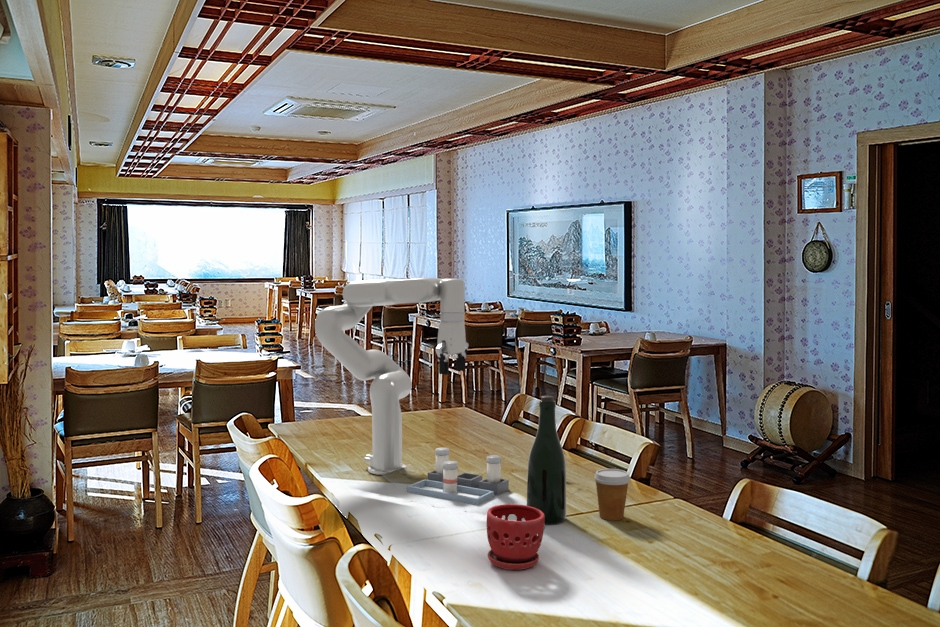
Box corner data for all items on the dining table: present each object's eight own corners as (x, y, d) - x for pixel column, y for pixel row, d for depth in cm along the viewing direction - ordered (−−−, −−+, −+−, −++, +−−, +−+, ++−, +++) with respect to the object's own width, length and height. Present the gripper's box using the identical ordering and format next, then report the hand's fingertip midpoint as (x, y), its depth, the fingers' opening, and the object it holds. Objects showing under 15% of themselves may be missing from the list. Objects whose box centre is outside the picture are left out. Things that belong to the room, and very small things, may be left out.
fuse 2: (483, 491, 237) (483, 457, 236) (491, 487, 240) (491, 454, 240) (496, 493, 235) (496, 459, 234) (503, 490, 238) (503, 456, 238)
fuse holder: (425, 488, 245) (425, 473, 245) (440, 481, 252) (440, 467, 252) (496, 501, 233) (496, 485, 232) (510, 494, 239) (510, 479, 239)
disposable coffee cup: (608, 524, 212) (608, 479, 211) (586, 514, 221) (587, 470, 220) (637, 519, 216) (637, 474, 216) (614, 509, 225) (615, 466, 224)
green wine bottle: (519, 515, 219) (520, 394, 217) (553, 511, 223) (555, 391, 221) (538, 527, 210) (539, 400, 207) (573, 522, 214) (574, 397, 212)
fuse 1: (432, 482, 246) (432, 449, 246) (440, 479, 250) (440, 446, 249) (444, 484, 244) (444, 451, 243) (451, 481, 248) (451, 448, 247)
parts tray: (406, 496, 237) (406, 486, 237) (424, 489, 244) (424, 479, 244) (477, 509, 224) (477, 499, 224) (494, 501, 232) (494, 491, 232)
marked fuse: (439, 497, 234) (440, 463, 233) (447, 493, 237) (448, 460, 236) (452, 499, 231) (452, 465, 231) (460, 496, 235) (460, 462, 234)
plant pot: (501, 577, 177) (502, 523, 176) (477, 557, 189) (477, 506, 188) (554, 569, 182) (555, 516, 181) (527, 549, 194) (527, 500, 193)
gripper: (457, 316, 264) (457, 368, 265) (426, 319, 250) (426, 374, 251) (477, 316, 260) (476, 370, 261) (447, 320, 246) (447, 376, 247)
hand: (452, 372), depth 256 cm, fingers open, 9 cm apart
